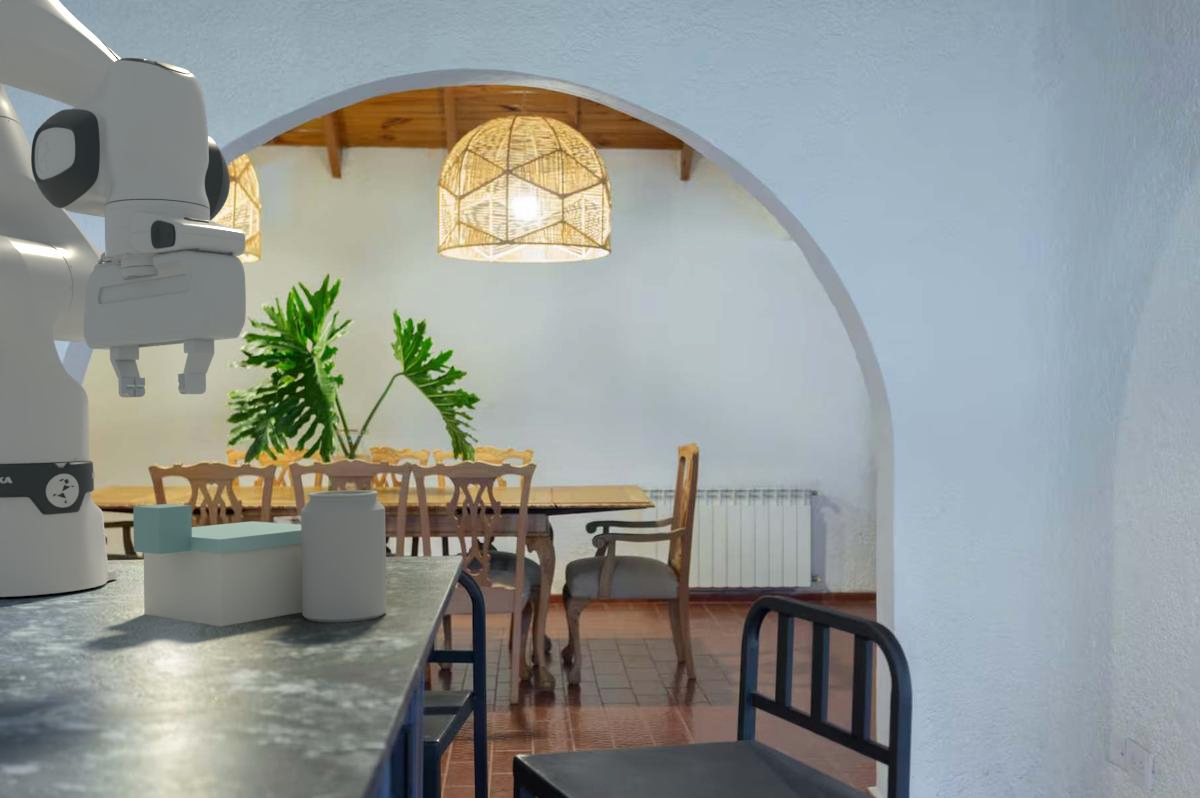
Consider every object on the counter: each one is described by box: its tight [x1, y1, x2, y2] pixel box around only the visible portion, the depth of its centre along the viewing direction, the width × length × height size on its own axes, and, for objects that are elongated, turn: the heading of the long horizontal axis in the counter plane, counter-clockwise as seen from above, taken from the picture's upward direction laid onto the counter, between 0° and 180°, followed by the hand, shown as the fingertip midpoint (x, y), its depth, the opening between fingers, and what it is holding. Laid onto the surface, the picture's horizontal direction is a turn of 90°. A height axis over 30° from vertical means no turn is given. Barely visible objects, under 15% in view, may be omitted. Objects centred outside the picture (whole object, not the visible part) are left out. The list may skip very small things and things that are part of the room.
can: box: [300, 489, 388, 624], centre depth 106 cm, size 8×8×12 cm
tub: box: [143, 543, 302, 628], centre depth 110 cm, size 12×12×7 cm
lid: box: [132, 503, 301, 554], centre depth 109 cm, size 13×16×5 cm
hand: (161, 395), depth 104 cm, fingers open, 8 cm apart
